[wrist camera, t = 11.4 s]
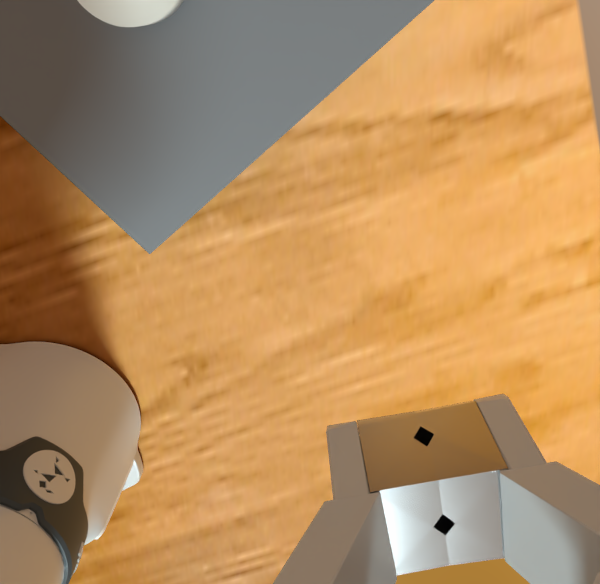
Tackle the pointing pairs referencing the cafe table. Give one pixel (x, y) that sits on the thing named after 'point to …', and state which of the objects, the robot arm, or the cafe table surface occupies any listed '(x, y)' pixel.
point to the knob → (131, 11)
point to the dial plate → (176, 92)
